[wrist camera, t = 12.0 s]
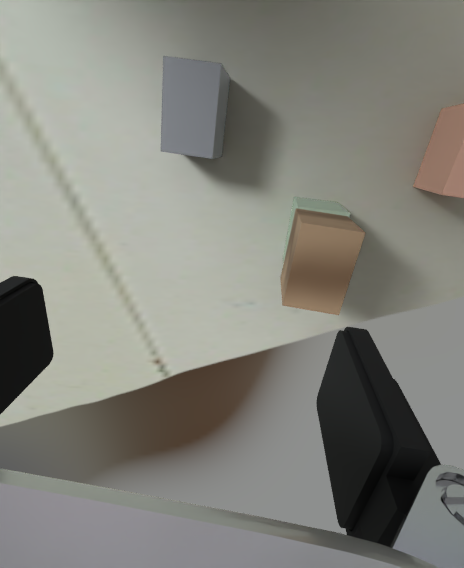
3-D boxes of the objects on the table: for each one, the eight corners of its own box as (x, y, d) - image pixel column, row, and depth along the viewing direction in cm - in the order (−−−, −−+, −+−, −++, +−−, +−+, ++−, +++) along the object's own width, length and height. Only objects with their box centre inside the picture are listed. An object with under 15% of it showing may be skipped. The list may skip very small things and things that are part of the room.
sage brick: (293, 196, 28) (298, 206, 24) (337, 202, 28) (350, 213, 24) (282, 257, 31) (284, 277, 26) (323, 263, 31) (331, 283, 26)
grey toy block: (182, 71, 25) (163, 56, 21) (230, 78, 25) (221, 63, 21) (178, 150, 28) (160, 151, 23) (221, 156, 28) (212, 158, 23)
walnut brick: (295, 208, 24) (301, 222, 19) (347, 216, 24) (365, 232, 19) (280, 278, 26) (282, 305, 22) (327, 285, 26) (338, 315, 22)
